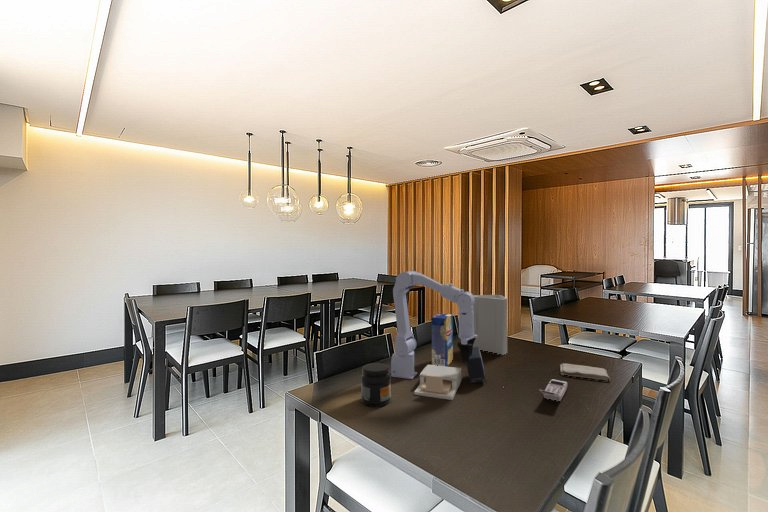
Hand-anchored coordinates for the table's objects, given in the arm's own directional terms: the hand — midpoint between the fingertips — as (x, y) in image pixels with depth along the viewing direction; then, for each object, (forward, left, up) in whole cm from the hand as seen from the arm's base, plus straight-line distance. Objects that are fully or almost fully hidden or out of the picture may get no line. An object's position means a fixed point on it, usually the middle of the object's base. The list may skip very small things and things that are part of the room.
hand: (467, 358), depth 139 cm
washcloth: (+44, +30, -12) cm, 54 cm away
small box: (+3, +8, -10) cm, 13 cm away
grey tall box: (+5, +57, -11) cm, 58 cm away
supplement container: (-28, -25, -11) cm, 39 cm away
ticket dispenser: (-10, -5, -11) cm, 16 cm away
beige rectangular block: (-10, -5, -9) cm, 15 cm away
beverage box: (-15, +25, -11) cm, 31 cm away
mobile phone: (+31, +2, -11) cm, 33 cm away
